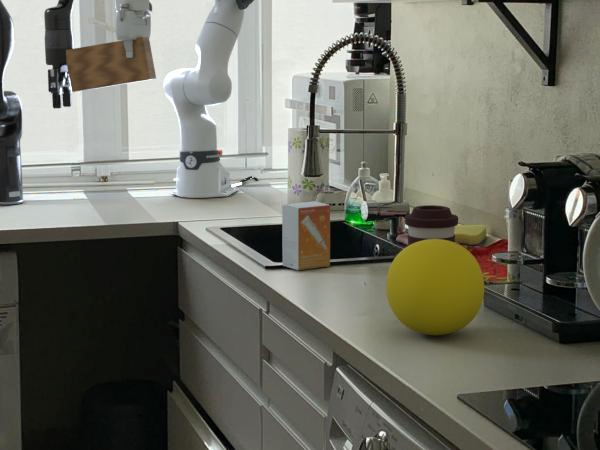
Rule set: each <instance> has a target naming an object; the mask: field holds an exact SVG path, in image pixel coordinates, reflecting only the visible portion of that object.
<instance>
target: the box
mask: <svg viewBox="0 0 600 450" xmlns="http://www.w3.org/2000/svg"><path fill="white" fill-rule="evenodd" d="M132 46H133V51H134V57H133V58H127V57H126V50H125V47H124V40H117V41H111V42H106V43H99V44H94V45H93V44H92V45H87V46H82V47H75V48H74V49H69V50H66V61H67V68H68V73H69V79H70V84H71V89H72V93H75V92H76V93H77V92H83V91H89V90H96V89H102V88H107V87H108V88H109V87H113V86H119V85H120V86H121V85H125V84H132V83H137V82H145V81H150V80H156V79H157V75H156V69H155V63H154V57H153V52H152V47H151V42H150V38H149V37H140V38H137V39H136V40H133V44H132Z"/></svg>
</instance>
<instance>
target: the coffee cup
mask: <svg viewBox="0 0 600 450" xmlns="http://www.w3.org/2000/svg"><path fill="white" fill-rule="evenodd" d="M404 225H406V226H407V227H408V228H407V230H408V233H407V246H409V245H411V244H413V243H415V242H418V241H422V240H427V239H442V240H447V241H451V242H454V243H456V235H455V229H456V228H455V227H456V226H458V225H459V216H458V215H456V214H453V213H452V211H451V208H450V207H448V206H444V205H437V204H436V205H434V204H433V205H431V204H429V205H426V204H425V205H418V206H414V207H413V208H412V210H411V213H408V214H406V215H405V216H404Z"/></svg>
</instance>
